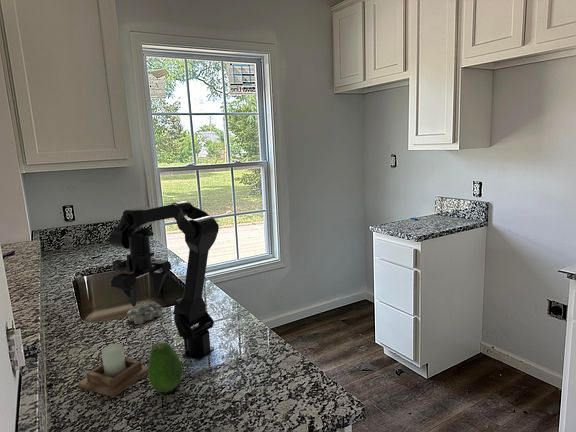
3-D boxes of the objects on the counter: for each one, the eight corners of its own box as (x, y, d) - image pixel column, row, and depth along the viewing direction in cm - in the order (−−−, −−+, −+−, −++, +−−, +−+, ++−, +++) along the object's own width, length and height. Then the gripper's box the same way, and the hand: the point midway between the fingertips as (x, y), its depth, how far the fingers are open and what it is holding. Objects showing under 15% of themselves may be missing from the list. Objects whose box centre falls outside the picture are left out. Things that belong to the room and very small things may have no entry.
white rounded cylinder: (131, 371, 101) (127, 345, 100) (114, 382, 96) (111, 355, 95) (116, 367, 103) (113, 342, 102) (100, 377, 98) (96, 351, 97)
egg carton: (136, 326, 130) (134, 314, 129) (126, 320, 135) (124, 308, 134) (165, 315, 137) (164, 304, 136) (155, 309, 142) (154, 299, 141)
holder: (151, 370, 102) (149, 360, 102) (113, 397, 92) (112, 386, 91) (117, 361, 108) (116, 351, 107) (78, 386, 97) (76, 375, 96)
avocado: (144, 390, 94) (139, 344, 92) (174, 376, 99) (169, 332, 97) (160, 405, 88) (154, 356, 86) (191, 389, 94) (186, 342, 92)
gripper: (143, 241, 128) (148, 287, 130) (93, 256, 111) (100, 308, 114) (170, 243, 123) (174, 290, 126) (122, 259, 106) (129, 314, 109)
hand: (145, 300), depth 119 cm, fingers open, 9 cm apart
